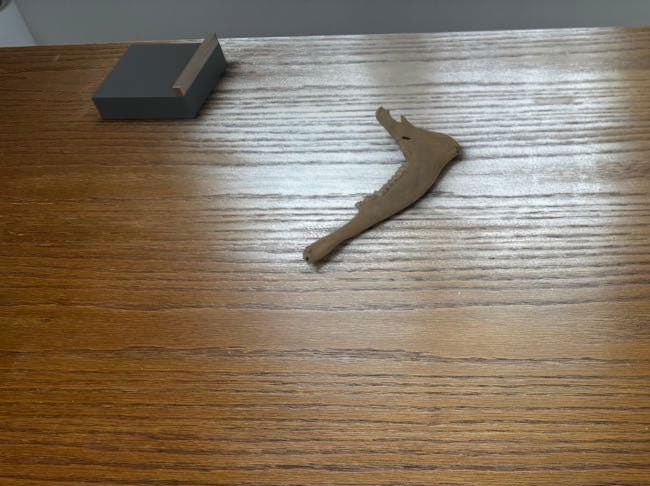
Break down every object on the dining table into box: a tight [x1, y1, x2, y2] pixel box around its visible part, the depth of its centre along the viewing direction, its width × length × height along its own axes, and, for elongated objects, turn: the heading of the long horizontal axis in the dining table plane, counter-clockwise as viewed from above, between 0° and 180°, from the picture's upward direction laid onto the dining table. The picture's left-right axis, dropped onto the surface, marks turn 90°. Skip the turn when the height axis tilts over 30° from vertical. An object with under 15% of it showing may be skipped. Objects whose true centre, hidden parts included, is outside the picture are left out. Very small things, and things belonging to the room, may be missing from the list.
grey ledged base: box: [90, 32, 229, 120], centre depth 87 cm, size 10×10×4 cm
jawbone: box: [302, 106, 460, 266], centre depth 73 cm, size 9×20×2 cm, turn 168°
